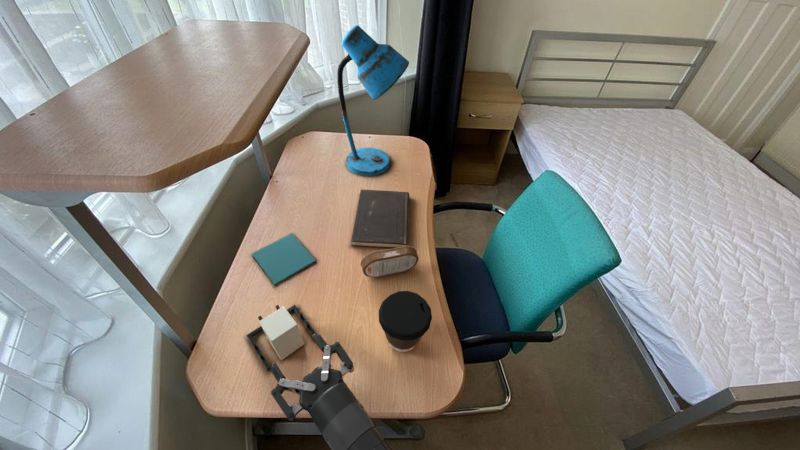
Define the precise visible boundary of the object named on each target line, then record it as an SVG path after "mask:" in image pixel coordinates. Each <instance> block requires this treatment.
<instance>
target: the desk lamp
mask: <svg viewBox="0 0 800 450" xmlns="http://www.w3.org/2000/svg"><path fill="white" fill-rule="evenodd" d="M341 46H342V47H343V49H344V50H345V51H346V53H347V55H346V56H345V57H344V58H343V59H341V61H340V62H339V64H338V67H337V71H336V74H337V75H336V79H337V82H336V83H337V93H338V98H339V104H340V105H339V106H340V110H341V116H342V120H343V123H344V128H345V132H346V136H347V139H348V143H349V146H350V150H351V151H350V152H349V153H348V154H347V156H346V160H345V161H346V166H347V169H348V170H349V172H351V173H353V174H356V175H358V176H363V177H372V176H377V175H380V174H382V173H385V172H386V171H387V170H388V169H389V167H390V156H389V155H388V153H386V152H385V151H384V150H382V149H380V148H375V147H360V148H356V145H355V141H354V138H353V133H352V130H351V125H350V121H349V117H348V111H347V105H346V99H345V93H344V79H343V78H344V75H343V73H344V69H345V67H346V65H347V64H349V63H350V62H351V61H353V62H354V64H355V65H356V67H357V79H358V80H359V82H360V83H361V85H362V86H363V88H364V89H365V91H366V92H367V94H368V95H369V97H370V98H371V100H372V101H376V100H378V99H380V98H381V97H383V96H384V95H385V94H386V93H387V92H388V91H389V90H390V89H392V88H393V86H394V85H395V84H397V82H398V81H399V80H400V78H401V77H402V76H403V75H404V74H405V72H406V71H407V69H408V67H409V65H410V61H409V60H408V59H407V58H406V57H405V56H403V55H402V54H401V53H400V52H398V51H397V50H396V49H395V48H394V47H393V46H391V44H388V43H387V44H386V43H378V42H377V41H376V40H375V39H373V37H371V36H370V34H368V33H367V32H366V31H365V30H364V29H363V28H362V27H361V26H360V25H357V24H356V25H354V26H352V28H350V29H349V30H348V31H347V32H346V34H345V35H344V37H343V38H342V41H341Z"/></svg>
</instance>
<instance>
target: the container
mask: <svg viewBox="0 0 800 450" xmlns="http://www.w3.org/2000/svg"><path fill="white" fill-rule="evenodd" d="M258 324H259V325H260V326H261V327H262V329H263V331H262V332H263V333H264V334H265V336H266V338H267V340H268V342H269V344H270V346H272V348H273V350H274V351H275V353H276V355H277V356H278V358H279V359H280V361H283V360H284V359H286V358H287V357H288V356H290V355H291V354H293V353H294V352H296V351H297V350H299V349H300V348H301V347H303V346H304V345H305V342H304V339H303V337H302V334H301V331H300V328H299V326H298V323H297V322H296V320H295V319H294V318H293V316H292V315H291V313H290V314H289V312H288V311H287V308H286V307H285V306H284V305H283V306H281V307H280V309H278V310H277V309H276V310H275V311H273V312H272V313H270V314H269V315H266V316H265V317H264V318H263V319H262V320H260V321H259V320H258Z"/></svg>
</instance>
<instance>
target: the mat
mask: <svg viewBox="0 0 800 450" xmlns="http://www.w3.org/2000/svg"><path fill="white" fill-rule="evenodd" d="M251 255H252V256H253V258H254V259H255V261H256V262H257V264H258V265H259V266H260V267H261V269H262V270H263V271H264V273H265V274H266V276H267V277H268V278H269V280H270V281H271V282H272V284H273V285H274V286H277V285H278V284H281V283H282V282H283V281H286V280H287V279H289V278H290V277H292V276H294V275H296V274H297V273H299V272H301V271H303V270H304V269H306V268H308V267H309V266H311V265H313V264H315V263H317V260H316V259H315V257H314V256H313V255H312V254H311V252H310V251H308V249H306V247H305V246H304V244H303V243H301V242H300V240H299V239H298V238H297V237H296V236H295V235H294V234H293V233H290V234H288V235H286V236H284V237H281V238H280V239H278V240H276V241H273V242H272V243H270V244H268V245H266V246H264V247H262V248H260V249H259V250H256V251H254V252H252V253H251Z"/></svg>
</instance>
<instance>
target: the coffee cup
mask: <svg viewBox="0 0 800 450" xmlns="http://www.w3.org/2000/svg"><path fill="white" fill-rule="evenodd" d="M432 320H433V314H432V309H431V306H430V305H429V303H428V301H427V300H426V299H425V298H424V297H423V296H422V295H420V294H419V293H417V292H413V291H411V290H398V291H396V292H394V293H391V294H389V295H388V296H387V297H386V298H385V299H384V300H383V301H382V302H381V304H380V306H379V309H378V323H379V325H380V327H381V329H382V330H383V331H382V332H384V335H385V338H386V340H387V342H388V344H389V346H390V347H391V348H392V349H393V350H394V351H397V352H400V353H407V352H410V351H411V350H413V349H414V348H415V347H416V346H417V345H418V343H419V342H420V341H421V339H422V337H423V336H424V335H426V333H427V332H428V330H430V327H431V323H432Z"/></svg>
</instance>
